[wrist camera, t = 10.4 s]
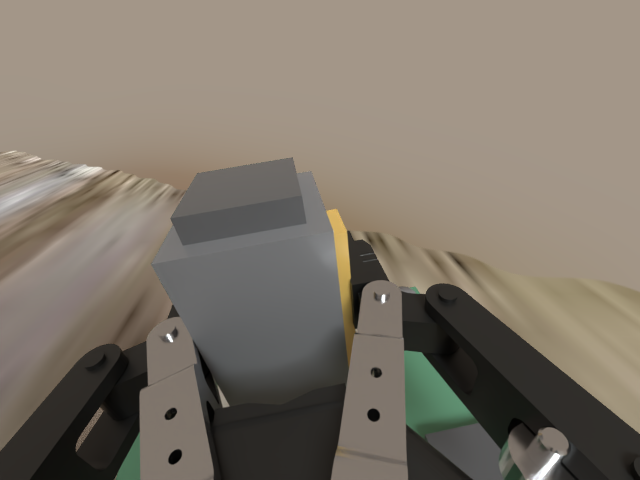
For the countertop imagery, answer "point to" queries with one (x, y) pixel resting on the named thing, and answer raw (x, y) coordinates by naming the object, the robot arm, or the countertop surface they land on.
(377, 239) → the countertop surface
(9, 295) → the countertop surface
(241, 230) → the plug
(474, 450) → the mount board
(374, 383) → the robot arm
